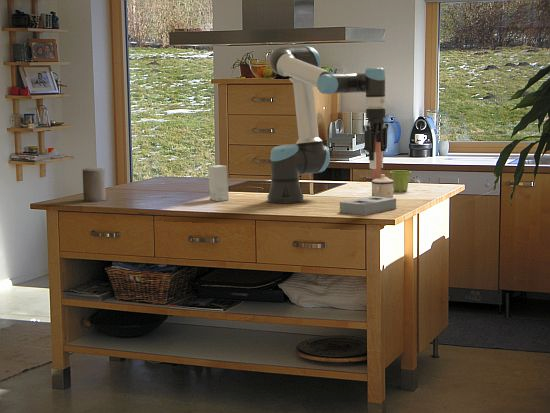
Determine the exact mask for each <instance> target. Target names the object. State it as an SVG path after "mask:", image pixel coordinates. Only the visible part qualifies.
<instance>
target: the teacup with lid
mask: <svg viewBox="0 0 550 413" xmlns="http://www.w3.org/2000/svg"><path fill="white" fill-rule="evenodd" d="M393 183H394V182H393V180H392V178H389V177H388V176H386V174H383V173H381V178H380V179H371V196H375V197H385V198H394V190H393Z"/></svg>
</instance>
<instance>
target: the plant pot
mask: <svg viewBox="0 0 550 413" xmlns="http://www.w3.org/2000/svg"><path fill="white" fill-rule="evenodd" d="M389 173H390V176H391V180H393V182H394V183H393V192H407V191H408V189H409V188H408V187H409V179H410V176H411V173H412V171H410V170H403V169H402V170H391V171H389Z"/></svg>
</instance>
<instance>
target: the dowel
mask: <svg viewBox="0 0 550 413" xmlns="http://www.w3.org/2000/svg"><path fill="white" fill-rule="evenodd" d="M374 152H376V169H371V180H374V179H380V178H381V174H382V168H381V142H375V151H374Z"/></svg>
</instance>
